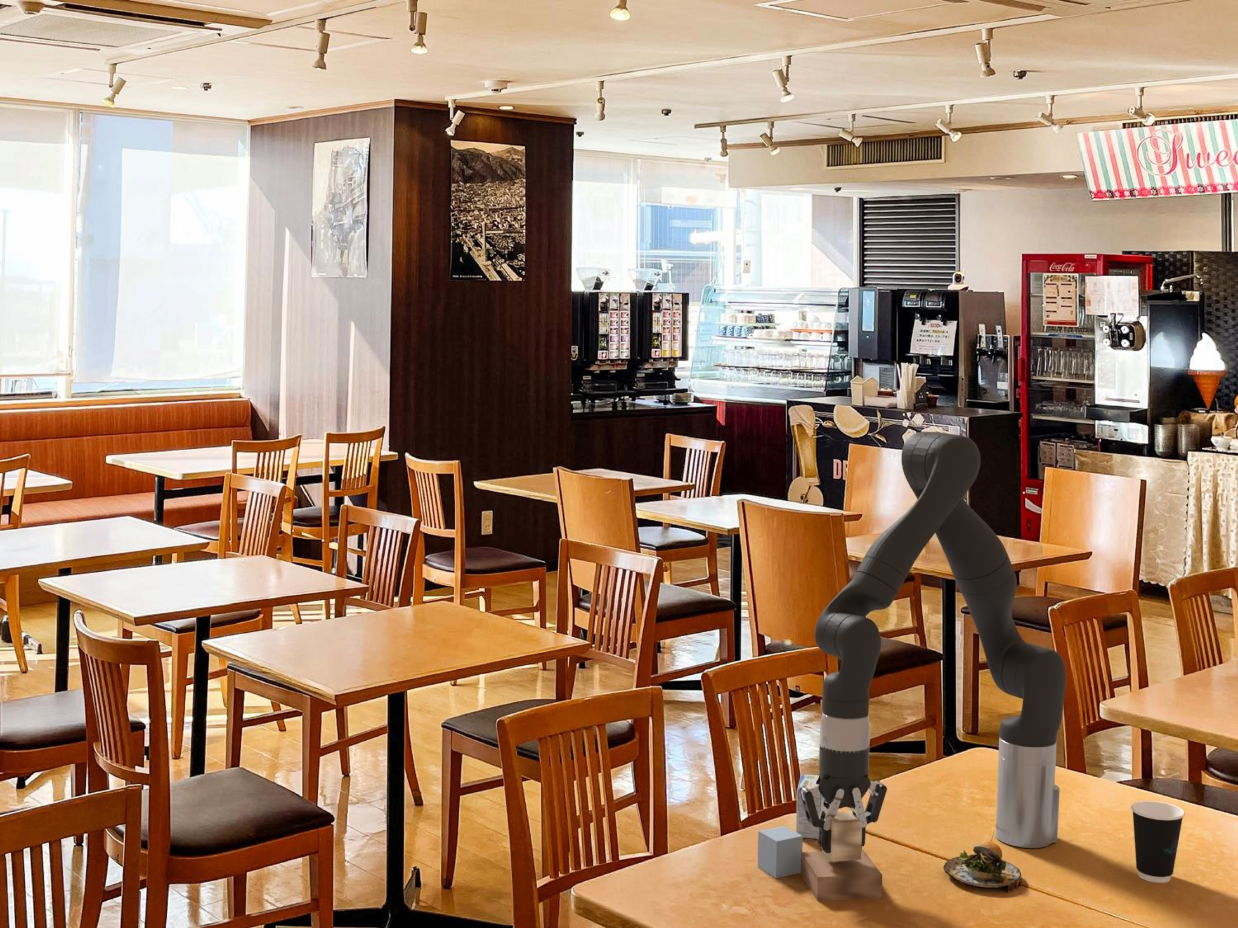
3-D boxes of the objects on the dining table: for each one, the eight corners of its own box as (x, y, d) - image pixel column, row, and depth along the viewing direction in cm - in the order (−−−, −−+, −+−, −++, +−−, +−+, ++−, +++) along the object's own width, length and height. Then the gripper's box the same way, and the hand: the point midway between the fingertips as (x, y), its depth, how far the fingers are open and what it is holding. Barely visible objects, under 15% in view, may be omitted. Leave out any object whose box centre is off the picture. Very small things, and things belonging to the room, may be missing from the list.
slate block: (783, 861, 225) (784, 825, 225) (801, 872, 221) (802, 835, 220) (757, 867, 223) (758, 830, 222) (775, 878, 218) (776, 841, 218)
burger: (928, 871, 222) (930, 825, 222) (989, 861, 227) (991, 816, 226) (975, 900, 211) (977, 852, 211) (1038, 889, 216) (1040, 842, 215)
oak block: (849, 848, 218) (850, 810, 217) (861, 859, 214) (862, 821, 213) (822, 850, 217) (823, 813, 216) (833, 861, 213) (834, 823, 212)
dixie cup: (1183, 889, 216) (1187, 820, 214) (1128, 882, 218) (1132, 814, 217) (1179, 870, 223) (1182, 803, 222) (1126, 864, 226) (1129, 797, 224)
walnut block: (862, 874, 221) (863, 849, 221) (881, 899, 211) (882, 874, 211) (800, 876, 220) (801, 851, 220) (817, 902, 210) (817, 876, 210)
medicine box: (822, 840, 235) (823, 790, 234) (795, 837, 236) (796, 788, 235) (824, 823, 242) (826, 775, 241) (799, 821, 243) (800, 773, 242)
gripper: (877, 731, 219) (874, 837, 220) (791, 737, 215) (789, 844, 217) (898, 746, 211) (894, 855, 213) (809, 752, 208) (806, 862, 210)
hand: (841, 849), depth 215 cm, fingers closed on oak block, 4 cm apart
